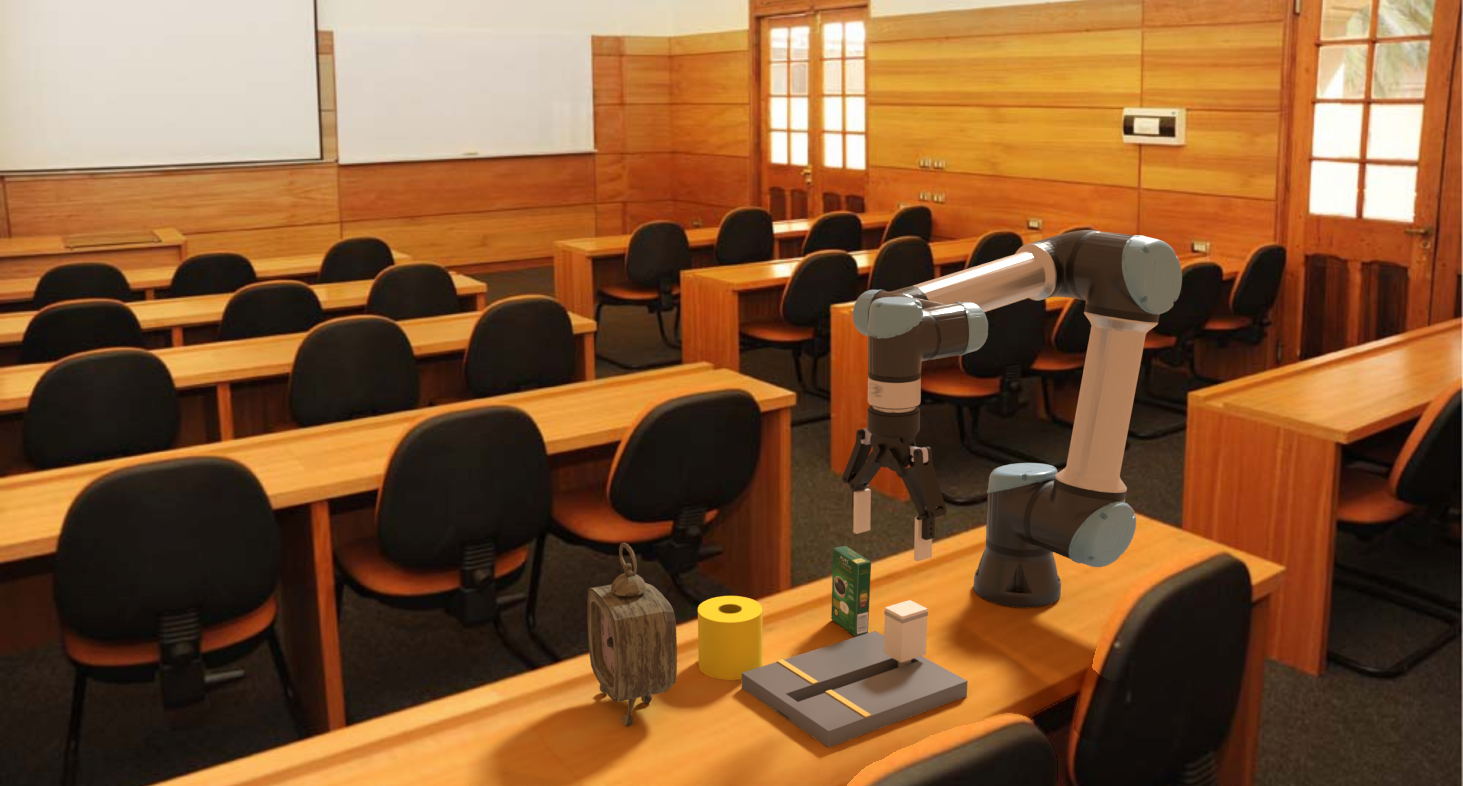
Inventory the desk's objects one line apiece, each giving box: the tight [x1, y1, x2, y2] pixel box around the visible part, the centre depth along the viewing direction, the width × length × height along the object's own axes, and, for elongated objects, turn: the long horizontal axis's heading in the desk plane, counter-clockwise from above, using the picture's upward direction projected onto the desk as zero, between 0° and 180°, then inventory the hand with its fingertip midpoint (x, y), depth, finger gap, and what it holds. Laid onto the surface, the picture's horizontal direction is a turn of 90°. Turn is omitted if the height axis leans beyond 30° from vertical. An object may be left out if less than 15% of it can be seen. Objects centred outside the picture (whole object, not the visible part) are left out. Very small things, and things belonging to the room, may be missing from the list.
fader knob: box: [883, 599, 929, 668], centre depth 193 cm, size 5×4×10 cm
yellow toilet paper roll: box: [697, 595, 764, 681], centre depth 197 cm, size 10×10×9 cm
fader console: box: [741, 630, 969, 749], centre depth 188 cm, size 26×21×3 cm
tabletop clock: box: [586, 542, 678, 727], centre depth 182 cm, size 14×9×25 cm, turn 23°
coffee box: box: [830, 545, 872, 637], centre depth 209 cm, size 8×3×13 cm, turn 27°
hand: (891, 544), depth 187 cm, fingers open, 13 cm apart
